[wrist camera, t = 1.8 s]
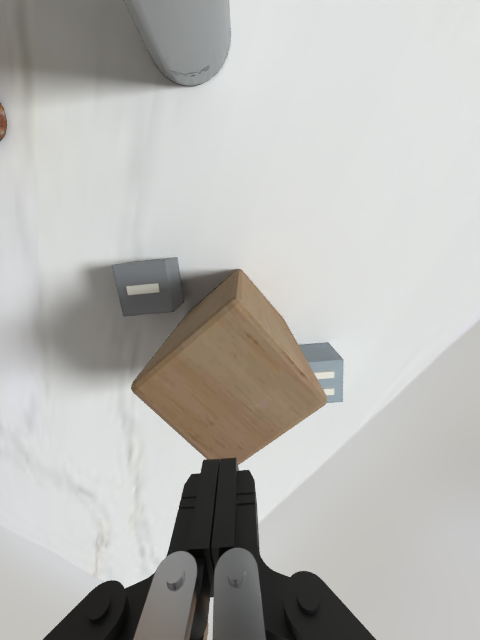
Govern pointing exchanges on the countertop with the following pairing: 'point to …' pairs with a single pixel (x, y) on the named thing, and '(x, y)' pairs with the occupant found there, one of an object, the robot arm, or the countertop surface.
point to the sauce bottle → (2, 122)
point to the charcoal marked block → (149, 286)
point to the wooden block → (231, 374)
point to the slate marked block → (326, 368)
